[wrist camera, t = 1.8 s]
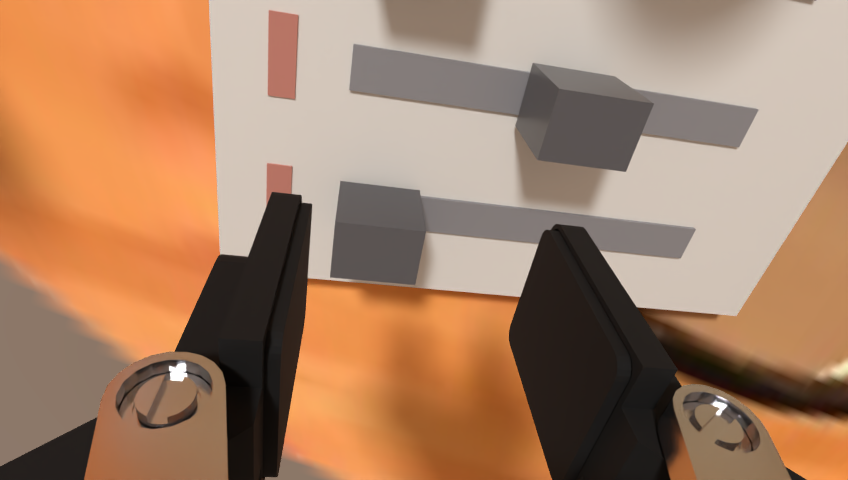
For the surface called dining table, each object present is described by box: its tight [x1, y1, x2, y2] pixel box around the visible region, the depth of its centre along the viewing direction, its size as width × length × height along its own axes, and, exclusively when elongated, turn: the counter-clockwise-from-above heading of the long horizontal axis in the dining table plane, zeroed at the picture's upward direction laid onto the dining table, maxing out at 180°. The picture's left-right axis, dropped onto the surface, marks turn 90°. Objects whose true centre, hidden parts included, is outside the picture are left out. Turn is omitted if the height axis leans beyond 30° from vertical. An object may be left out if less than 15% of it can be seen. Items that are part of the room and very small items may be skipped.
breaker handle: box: [515, 63, 654, 172], centre depth 23 cm, size 4×3×4 cm
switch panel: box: [209, 0, 848, 316], centre depth 24 cm, size 32×24×6 cm
